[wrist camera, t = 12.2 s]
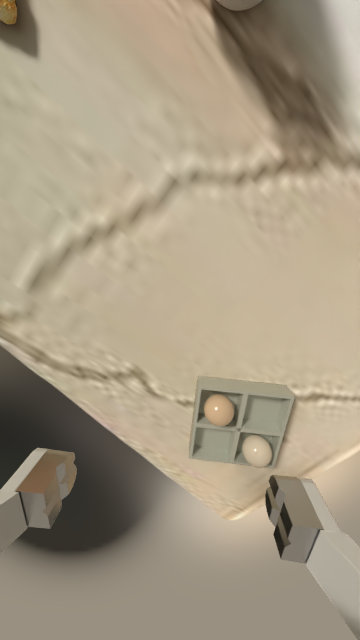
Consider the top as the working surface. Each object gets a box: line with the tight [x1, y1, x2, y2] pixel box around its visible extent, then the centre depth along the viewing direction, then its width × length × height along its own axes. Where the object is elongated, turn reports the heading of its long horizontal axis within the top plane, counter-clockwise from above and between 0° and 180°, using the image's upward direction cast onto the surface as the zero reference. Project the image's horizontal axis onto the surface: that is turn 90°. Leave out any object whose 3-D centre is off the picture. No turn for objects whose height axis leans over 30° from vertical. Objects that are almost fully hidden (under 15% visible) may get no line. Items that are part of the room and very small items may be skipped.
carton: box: [189, 376, 295, 468], centre depth 36 cm, size 15×15×3 cm
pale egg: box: [242, 434, 272, 468], centre depth 35 cm, size 5×5×5 cm
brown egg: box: [204, 394, 234, 427], centre depth 33 cm, size 5×5×5 cm
